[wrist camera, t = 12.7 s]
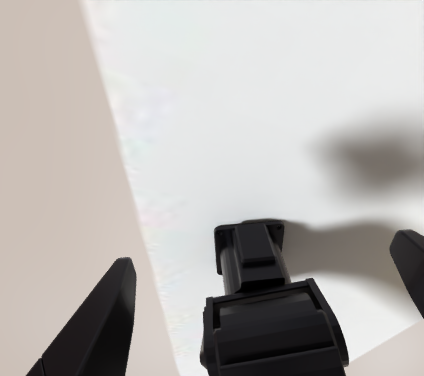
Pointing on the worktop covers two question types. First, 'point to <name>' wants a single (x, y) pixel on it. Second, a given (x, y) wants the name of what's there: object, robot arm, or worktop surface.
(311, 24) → the worktop surface
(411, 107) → the worktop surface
